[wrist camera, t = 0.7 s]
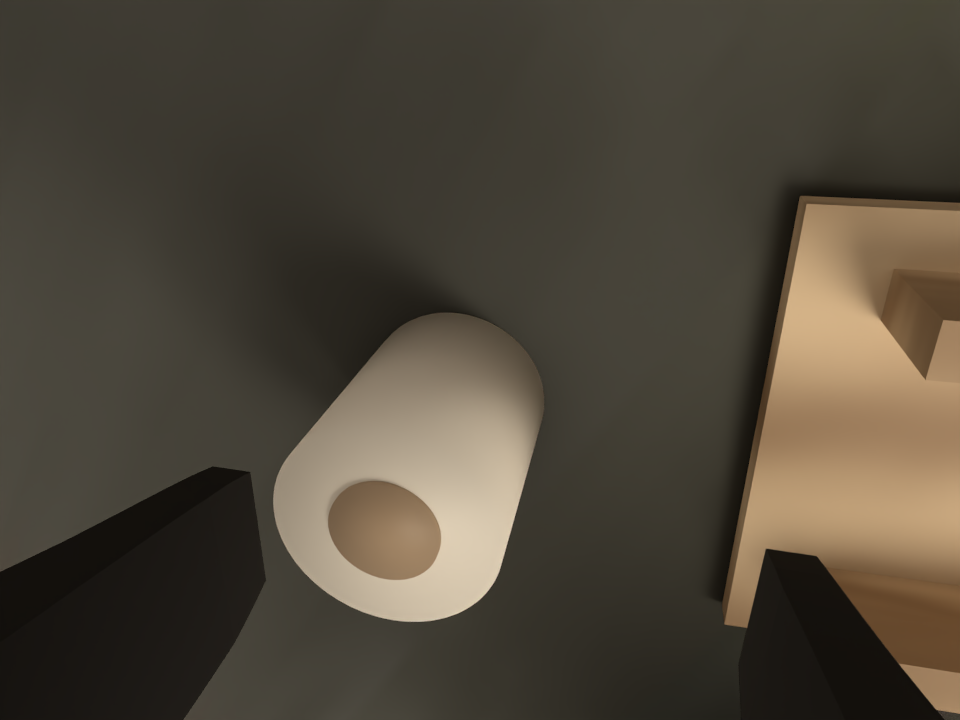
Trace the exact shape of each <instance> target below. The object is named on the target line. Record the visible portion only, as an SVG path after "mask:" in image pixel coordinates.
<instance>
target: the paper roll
mask: <svg viewBox="0 0 960 720" xmlns="http://www.w3.org/2000/svg"><path fill="white" fill-rule="evenodd" d="M543 413H544V391H543V385H542V381H541V378H540V375H539V372H538V370H537V368H536V366H535V364H534V362H533V361H532V359H531V358H530V356H529V355H528V353H527V352H526V351H525V350H524V348H523V347H522V346H521V345H520V344H519V343H518V342H517V341H516V340H515V339H514V338H513V337H512V336H511V335H509V334H508V333H506V332H505V331H504V330H502V329H501V328H499V327H497V326H495V325H494V324H492V323H490V322H488V321H485V320H483V319H480V318H477V317H474V316H470V315H466V314H459V313H434V314H429V315H425V316H421V317H418V318H415V319H413V320H410V321H409V322H407V323H405V324H403V325H402V326H400V327H399V328H398V329H396V330H395V331H394V332H393V333H392V334H391V335H390V336H389V337H388V338H387V339H386V340H385V341H384V343H383V344H382V345H381V346H380V347H379V349H378V350H377V351H376V352H375V353H374V355H373V356H372V357H371V358H370V359H369V361H368V362H367V363H366V364H365V365H364V366H363V368H362V369H361V370H360V371H359V372H358V374H357V375H356V376H355V377H354V378H353V380H352V381H351V382H350V383H349V384H348V386H347V387H346V388H345V389H344V390H343V392H342V393H341V394H340V395H339V396H338V397H337V399H336V400H335V401H334V402H333V403H332V405H331V406H330V407H329V408H328V409H327V411H326V412H325V413H324V414H323V415H322V417H321V418H320V419H319V420H318V421H317V422H316V424H315V425H314V426H313V427H312V428H311V430H310V431H309V432H308V433H307V434H306V436H305V437H304V438H303V439H302V440H301V442H300V443H299V444H298V445H297V446H296V448H295V449H294V450H293V451H292V452H291V453H290V455H289V456H288V457H287V459H286V460H285V462H284V463H283V465H282V467H281V469H280V471H279V474H278V476H277V479H276V483H275V487H274V496H273V506H274V515H275V520H276V524H277V528H278V530H279V533H280V536H281V538H282V540H283V542H284V544H285V546H286V548H287V550H288V552H289V553H290V555H291V556H292V558H293V559H294V561H295V562H296V563H297V565H298V566H299V567H300V568H301V569H302V571H303V572H304V573H305V574H306V575H307V576H308V577H309V578H310V579H311V580H312V581H313V582H314V583H315V584H317V585H318V586H319V587H320V588H322V589H323V590H324V591H325V592H327V593H328V594H330V595H331V596H333V597H334V598H336V599H337V600H339V601H341V602H343V603H345V604H346V605H348V606H350V607H352V608H355V609H357V610H359V611H362V612H364V613H367V614H370V615H373V616H376V617H380V618H385V619H390V620H396V621H404V622H423V621H433V620H438V619H442V618H447V617H449V616H452V615H455V614H458V613H460V612H462V611H464V610H465V609H467V608H469V607H471V606H472V605H473V604H475V603H476V602H477V601H479V600H480V599H481V598H482V597H483V596H484V595H485V594H486V593H487V592H488V590H489V589H490V587H491V586H492V585H493V583H494V582H495V580H496V577H497V575H498V573H499V571H500V568H501V564H502V560H503V557H504V553H505V550H506V546H507V543H508V539H509V536H510V532H511V528H512V525H513V521H514V518H515V514H516V511H517V507H518V504H519V500H520V496H521V493H522V489H523V486H524V482H525V479H526V475H527V471H528V468H529V464H530V461H531V457H532V454H533V450H534V447H535V443H536V439H537V436H538V432H539V429H540V425H541V422H542V418H543Z"/></svg>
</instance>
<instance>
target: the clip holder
mask: <svg viewBox="0 0 960 720" xmlns="http://www.w3.org/2000/svg"><path fill="white" fill-rule="evenodd" d="M766 549H773V550H779V551H786V552H793V553H800V554H806V555H813V556H817V557H818V558H819V560H820V561H821V562H822V563H823V565H824V566H825V567H826V568H827V570H828V571H829V572H830V574H831V575H832V576H833V578H834V579H835V580H836V582H837V583H838V584H839V586H840V587H841V588H842V590H843V591H844V592H845V594H846V595H847V596H848V598H849V599H850V601H851V602H852V603H853V605H854V606H855V607H856V609H857V610H858V611H859V613H860V614H861V615H862V617H863V618H864V619H865V621H866V622H867V623H868V624H869V626H870V627H871V628H872V630H873V631H874V632H875V634H876V635H877V636H878V638H879V639H880V640H881V641H882V643H883V644H884V645H885V647H886V648H887V649H888V651H889V652H890V653H891V654H892V656H893V657H894V658H895V659H896V661H897V662H898V663H899V665H900V666H901V667H902V668H903V670H904V671H905V672H906V673H907V674H908V676H909V677H910V678H911V679H912V681H913V682H914V683H915V684H916V686H917V687H918V688H919V689H920V690H921V692H922V693H923V694H924V695H925V697H926V698H927V699H928V700H929V702H930V703H931V704H932V705H933V706H934V708H935V709H936V710H942V711H947V712H953V713H959V714H960V203H950V202H928V201H906V200H883V199H861V198H839V197H817V196H800V198H799V204H798V209H797V214H796V219H795V225H794V230H793V235H792V240H791V246H790V251H789V256H788V261H787V267H786V272H785V277H784V282H783V288H782V293H781V298H780V303H779V309H778V314H777V319H776V324H775V330H774V335H773V340H772V345H771V351H770V356H769V361H768V366H767V372H766V377H765V382H764V387H763V392H762V398H761V403H760V408H759V413H758V419H757V424H756V429H755V434H754V440H753V445H752V450H751V455H750V461H749V466H748V471H747V476H746V482H745V487H744V492H743V497H742V503H741V508H740V513H739V518H738V524H737V529H736V534H735V539H734V545H733V550H732V555H731V560H730V566H729V571H728V576H727V581H726V587H725V592H724V597H723V602H722V607H723V616H724V624H725V625H732V626H738V627H745V628H747V626H748V622H749V618H750V614H751V609H752V605H753V601H754V597H755V592H756V588H757V584H758V580H759V576H760V571H761V567H762V563H763V559H764V554H765V550H766Z"/></svg>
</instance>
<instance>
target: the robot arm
mask: <svg viewBox="0 0 960 720" xmlns="http://www.w3.org/2000/svg"><path fill="white" fill-rule="evenodd" d="M265 581H266V578H265V571H264V564H263V557H262V550H261V544H260V537H259V530H258V523H257V516H256V509H255V502H254V496H253V489H252V482H251V475H250V472H246V471H239V470H233V469H226V468H219V467H210V468H208V469H206V470H204V471H201V472H199V473H197V474H195V475H192V476H190V477H188V478H186V479H184V480H182V481H180V482H178V483H176V484H174V485H172V486H170V487H168V488H166V489H164V490H162V491H160V492H159V493H157V494H155V495H153V496H151V497H149V498H147V499H145V500H143V501H141V502H139V503H137V504H135V505H134V506H132V507H130V508H128V509H126V510H124V511H122V512H120V513H118V514H116V515H114V516H112V517H110V518H109V519H107V520H105V521H103V522H101V523H99V524H97V525H95V526H93V527H91V528H89V529H87V530H85V531H83V532H81V533H80V534H78V535H76V536H74V537H72V538H70V539H68V540H66V541H64V542H62V543H60V544H58V545H56V546H53V547H51V548H49V549H47V550H45V551H43V552H41V553H39V554H37V555H35V556H33V557H30V558H28V559H26V560H24V561H22V562H20V563H18V564H16V565H14V566H12V567H10V568H8V569H5V570H3V571H1V572H0V720H183V719H184V718H185V716H186V715H187V713H188V712H189V710H190V709H191V708H192V706H193V705H194V703H195V702H196V700H197V699H198V697H199V696H200V694H201V693H202V691H203V690H204V688H205V687H206V685H207V684H208V682H209V681H210V679H211V678H212V676H213V675H214V673H215V672H216V670H217V669H218V667H219V666H220V664H221V663H222V661H223V660H224V658H225V657H226V655H227V654H228V652H229V650H230V649H231V647H232V646H233V644H234V643H235V641H236V639H237V637H238V635H239V633H240V631H241V629H242V628H243V626H244V624H245V622H246V620H247V618H248V616H249V614H250V612H251V610H252V608H253V606H254V604H255V602H256V600H257V597H258V595H259V593H260V591H261V589H262V587H263V585H264V583H265ZM739 685H740V705H741V720H944V719H943V717H942V716H941V715H940V714H939V713H938V711H937V710H936V709H935V708H934V706H933V705H932V704H931V703H930V702H929V700H928V699H927V698H926V697H925V695H924V694H923V693H922V692H921V690H920V689H919V688H918V687H917V686H916V684H915V683H914V682H913V681H912V679H911V678H910V677H909V676H908V674H907V673H906V672H905V671H904V670H903V668H902V667H901V666H900V665H899V663H898V662H897V661H896V659H895V658H894V657H893V656H892V654H891V653H890V652H889V651H888V649H887V648H886V647H885V645H884V644H883V643H882V641H881V640H880V639H879V638H878V636H877V635H876V634H875V632H874V631H873V630H872V628H871V627H870V626H869V624H868V623H867V622H866V621H865V619H864V618H863V617H862V615H861V614H860V613H859V611H858V610H857V609H856V607H855V606H854V605H853V603H852V602H851V601H850V599H849V598H848V596H847V595H846V594H845V592H844V591H843V590H842V588H841V587H840V586H839V584H838V583H837V582H836V580H835V579H834V578H833V576H832V575H831V574H830V572H829V571H828V570H827V568H826V567H825V566H824V565H823V563H822V562H821V561H820V560H819V558H818V557H817V556H813V555H806V554H800V553H793V552H786V551H779V550H773V549H766V550H765V554H764V559H763V563H762V567H761V571H760V576H759V580H758V584H757V588H756V592H755V597H754V601H753V605H752V609H751V614H750V618H749V622H748V626H747V631H746V635H745V639H744V643H743V647H742V652H741V656H740V660H739Z"/></svg>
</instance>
